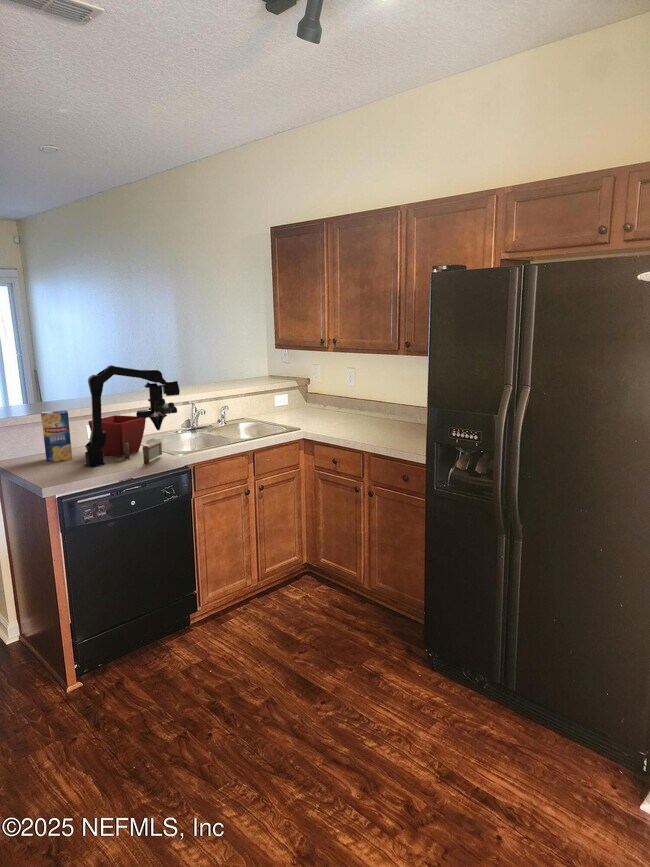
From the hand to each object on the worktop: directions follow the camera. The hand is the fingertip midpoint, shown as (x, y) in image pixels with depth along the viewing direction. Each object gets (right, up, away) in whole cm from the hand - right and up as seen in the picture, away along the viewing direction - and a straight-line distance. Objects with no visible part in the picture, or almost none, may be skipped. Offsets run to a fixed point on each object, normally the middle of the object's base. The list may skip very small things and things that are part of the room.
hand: (158, 430), depth 263 cm
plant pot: (-22, -11, +12) cm, 27 cm away
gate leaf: (-1, -12, -2) cm, 13 cm away
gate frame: (-8, -14, -5) cm, 17 cm away
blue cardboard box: (-46, -14, 0) cm, 48 cm away
